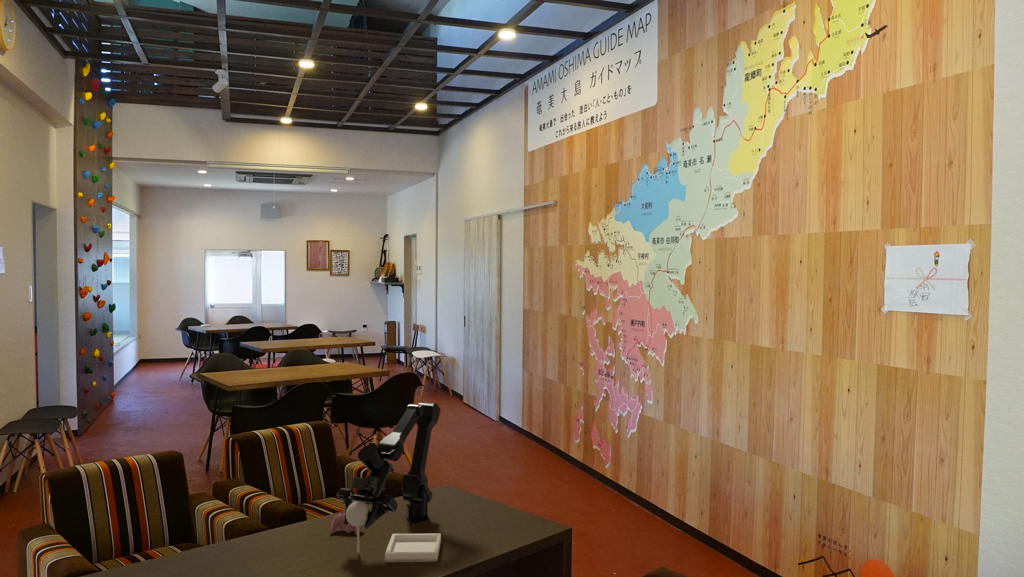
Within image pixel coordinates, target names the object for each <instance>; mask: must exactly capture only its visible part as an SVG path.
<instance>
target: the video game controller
mask: <svg viewBox="0 0 1024 577" xmlns="http://www.w3.org/2000/svg"><path fill="white" fill-rule="evenodd" d="M344 520H345V512H343V513H337V514H336V515H335V516H334V517H333V520H332V522H331V524H330V528H329V532H330V535H333V534H334V533H335V532H336V530H337V528H338V529H339V531H341V532H345V531H346V529H347V526H348V531H349V532H353V533H355V536H357V527H356V526H352V525H351V524H348V525H345V524H344ZM361 530H362V526H359V534H360V532H361Z"/></svg>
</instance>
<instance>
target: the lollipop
mask: <svg viewBox="0 0 1024 577" xmlns="http://www.w3.org/2000/svg"><path fill="white" fill-rule="evenodd" d="M370 512H371V509H370V506H369V505H368V503H366V502H362V501H356V502H353V503H352V504H350V505H349V507H348V508H347V511H346V519H347V521H348V522H349V523H348V525H350V524H351V525H352V526H356V527H357V535H356V553H358V554H359V553H360V533H359V526H361V527H362V526H365V524H366V521H367V519H368V516H369V514H370Z"/></svg>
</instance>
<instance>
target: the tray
mask: <svg viewBox="0 0 1024 577" xmlns="http://www.w3.org/2000/svg"><path fill="white" fill-rule="evenodd" d="M441 544H442V533H441V532H440V533H435V532H434V533H433V532H432V533H392V534H391V537H390V540H389V542H388V544H387V548H386V550H385V553H384V563H435V562H436V563H437V562H438V560H439V555H440V554H439V553H440V550H441V549H440V548H441Z"/></svg>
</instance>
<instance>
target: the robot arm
mask: <svg viewBox="0 0 1024 577" xmlns="http://www.w3.org/2000/svg"><path fill="white" fill-rule="evenodd" d="M440 415H441V408H440V406H439V405H438V403H435V402H425V401H420V402H418V404H415V403H409V404H408V405H407V406H406V409H405V412H404V413H403V414H402V416H401V418H400V419H399V421H398V423H397V424H396V425H395V427H394V428H393V430H392V431H391V433H390V434H388V435H386V436H384V437H383V438H382V440H380V441H379V443H378V445H377V443H376V442H372V441H371V442H368V444H367V445H365V446H364V447H361V449H360V450H359V451H358V453H357V459H358V460H359V461H360V463H361V464H362V465H363V467H365V469H366V470H367V471H369V473H367V475H364V476H363V477H356V476H353V479H352V481H351V482H352V483H351V486H350V488H345V487H341V488H339V490H338V492H337V493H336V496H337V498H338V499H340V501H341V502H343V504H345V511H344V513H345V520H344V524H345V525H346V526H348V525H349V522H348V521H347V519H346V511H347V508H348V507H349V505H350V504H352V503H353V502H356V501H362V502H364V503H366V504H371V509H370V514H369V516H368V519H367V521H366V524H364V529H365V530H367V529H368V528H370V527H372V525H373V524H374V523H376V521H377V520H379V519H380V518H381V517H382V516H384V515H385V514H386V515H387V514H388V513H390V512H391V513H396V511H397V509H398V502H397V501H396V499H395V498H394V497H393V496H392V495H391V494H386V493H382V491H385V490H386V485H385V484H386V481H387V480H388V477H389V475H390V474H394V472H395V469H394V467H393V464H392V463H390V462H398V461H399V459H400V458H402V455H403V453H404V451H405V445H404V443H405V441H406V439H407V438H408V436H409V434H410V433H411V432H412V430H413V428H414V426H415V425H416V427H417V429H416V437H415V441H414V446H413V447H414V448H413V453H412V458H411V459H412V460H411V464H410V468H409V469H410V470H408V472H407V473H405V474H404V475H403V476H402V482H401V489H400V490H401V495H402V498H403V501H406V502H407V504H405V518H407V519H408V520H409V522H411V523H413V522H420V521H425V520H429V519H430V516H429V515H428V512H429V510H428V509H429V508H428V507H429V505H428V503H430V502H431V500H432V499H433V492H432V491H431V489H430V488H429V487H428V485H429V484H428V483H429V480H428V476H427V474H426V467H427V466H426V465H427V458H428V454H429V453H428V452H429V447H430V442H431V435H432V429H433V428H434V427H435V426H436V425H437V423H438V422H439V418H440ZM389 461H390V462H389ZM353 489H356V491H357V493H359V494H357V493H355V492H354V490H353Z"/></svg>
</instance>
